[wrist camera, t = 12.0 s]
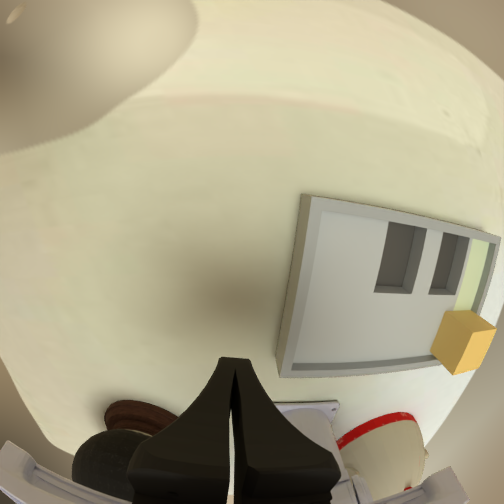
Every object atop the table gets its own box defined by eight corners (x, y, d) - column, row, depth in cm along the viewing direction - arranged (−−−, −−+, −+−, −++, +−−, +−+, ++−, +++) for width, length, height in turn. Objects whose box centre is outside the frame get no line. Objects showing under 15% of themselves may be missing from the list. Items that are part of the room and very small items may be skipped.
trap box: (446, 347, 24) (460, 360, 22) (275, 356, 23) (279, 377, 20) (482, 231, 21) (501, 237, 18) (301, 193, 19) (311, 196, 17)
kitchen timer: (314, 472, 30) (332, 550, 15) (345, 420, 26) (383, 521, 12) (390, 458, 31) (418, 521, 16) (429, 404, 27) (477, 475, 13)
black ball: (160, 465, 28) (145, 547, 14) (83, 414, 25) (42, 498, 11) (225, 439, 26) (223, 549, 12) (133, 376, 23) (81, 499, 9)
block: (455, 346, 22) (478, 368, 18) (429, 350, 22) (452, 375, 17) (470, 310, 21) (496, 328, 17) (445, 311, 21) (472, 332, 16)
